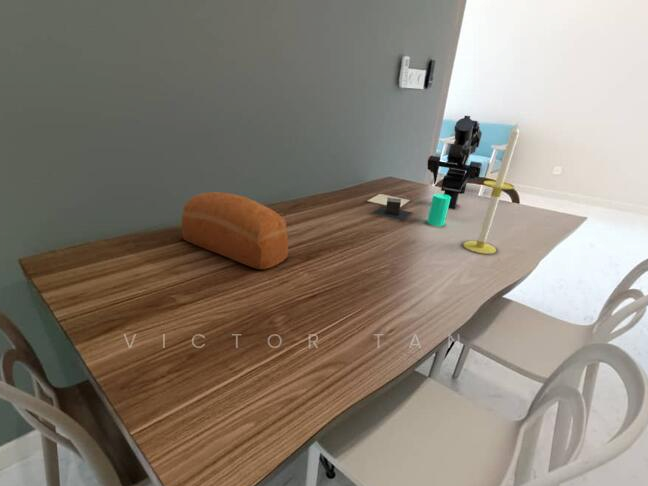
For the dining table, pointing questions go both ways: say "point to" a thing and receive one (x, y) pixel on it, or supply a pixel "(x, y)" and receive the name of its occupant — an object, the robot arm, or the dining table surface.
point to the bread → (236, 229)
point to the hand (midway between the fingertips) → (446, 186)
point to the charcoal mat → (400, 217)
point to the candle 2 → (494, 198)
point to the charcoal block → (393, 206)
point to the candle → (438, 209)
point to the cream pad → (383, 199)
